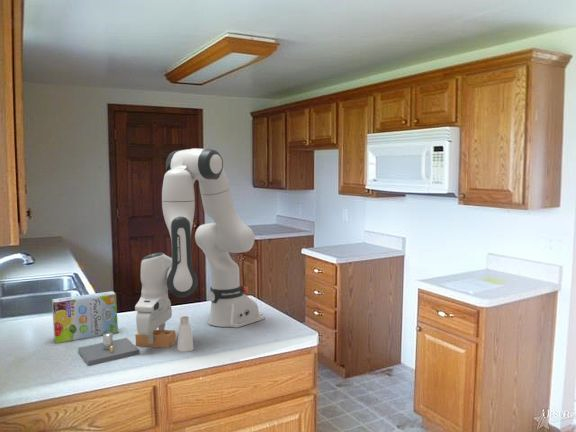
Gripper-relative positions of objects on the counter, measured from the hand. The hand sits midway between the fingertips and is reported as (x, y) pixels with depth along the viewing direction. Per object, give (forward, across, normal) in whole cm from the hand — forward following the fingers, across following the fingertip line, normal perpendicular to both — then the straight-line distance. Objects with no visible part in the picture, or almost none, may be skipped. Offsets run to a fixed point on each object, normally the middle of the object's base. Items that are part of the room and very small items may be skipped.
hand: (156, 339), depth 170 cm
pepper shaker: (+2, +3, +12) cm, 13 cm away
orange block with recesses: (+2, 0, 0) cm, 2 cm away
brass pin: (+2, +13, -9) cm, 16 cm away
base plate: (+2, +10, -12) cm, 16 cm away
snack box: (+2, -4, -29) cm, 29 cm away
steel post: (+2, +10, -12) cm, 16 cm away
